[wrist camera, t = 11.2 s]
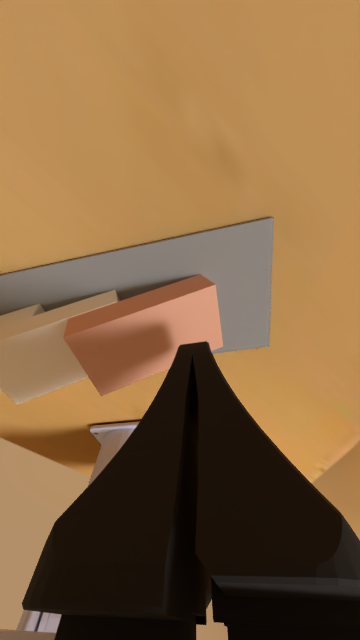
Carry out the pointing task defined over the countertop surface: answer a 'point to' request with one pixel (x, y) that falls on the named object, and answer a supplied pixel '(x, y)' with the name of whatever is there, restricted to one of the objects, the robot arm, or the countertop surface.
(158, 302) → the domino
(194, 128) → the countertop surface
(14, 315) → the domino
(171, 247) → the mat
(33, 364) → the domino
